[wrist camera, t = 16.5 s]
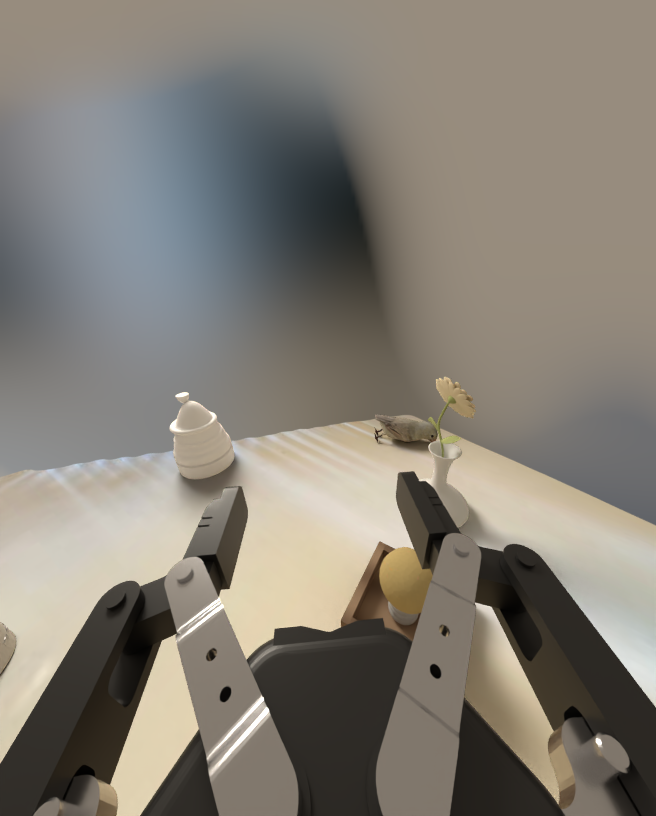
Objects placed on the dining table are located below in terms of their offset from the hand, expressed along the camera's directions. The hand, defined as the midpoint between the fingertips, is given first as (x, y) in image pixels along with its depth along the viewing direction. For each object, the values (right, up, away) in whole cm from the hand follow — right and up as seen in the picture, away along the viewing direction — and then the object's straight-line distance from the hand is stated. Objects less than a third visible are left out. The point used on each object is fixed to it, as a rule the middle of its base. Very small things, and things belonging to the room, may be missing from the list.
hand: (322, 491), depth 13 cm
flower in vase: (+20, -15, +36) cm, 44 cm away
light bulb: (+10, -22, +20) cm, 31 cm away
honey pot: (-30, -9, +52) cm, 60 cm away
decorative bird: (+21, -5, +56) cm, 59 cm away
